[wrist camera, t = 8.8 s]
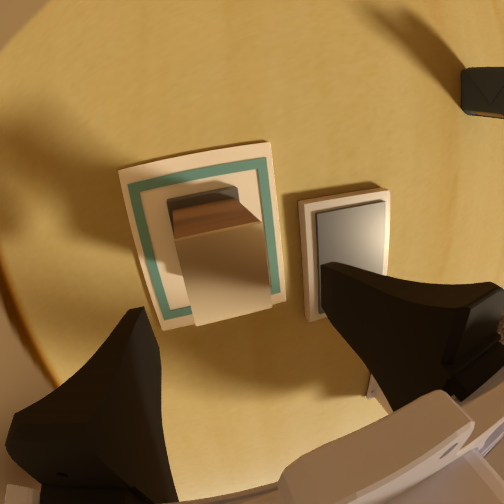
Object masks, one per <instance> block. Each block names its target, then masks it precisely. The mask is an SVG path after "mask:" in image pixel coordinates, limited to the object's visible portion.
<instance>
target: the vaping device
mask: <svg viewBox="0 0 504 504" xmlns="http://www.w3.org/2000/svg"><path fill="white" fill-rule="evenodd" d="M461 100H462V110H464V112H465V113H466V114H467V115H472V116H483V117H492V118H500V119H504V67H472V68H467V69H466V70H463V71H462V73H461Z"/></svg>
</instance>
